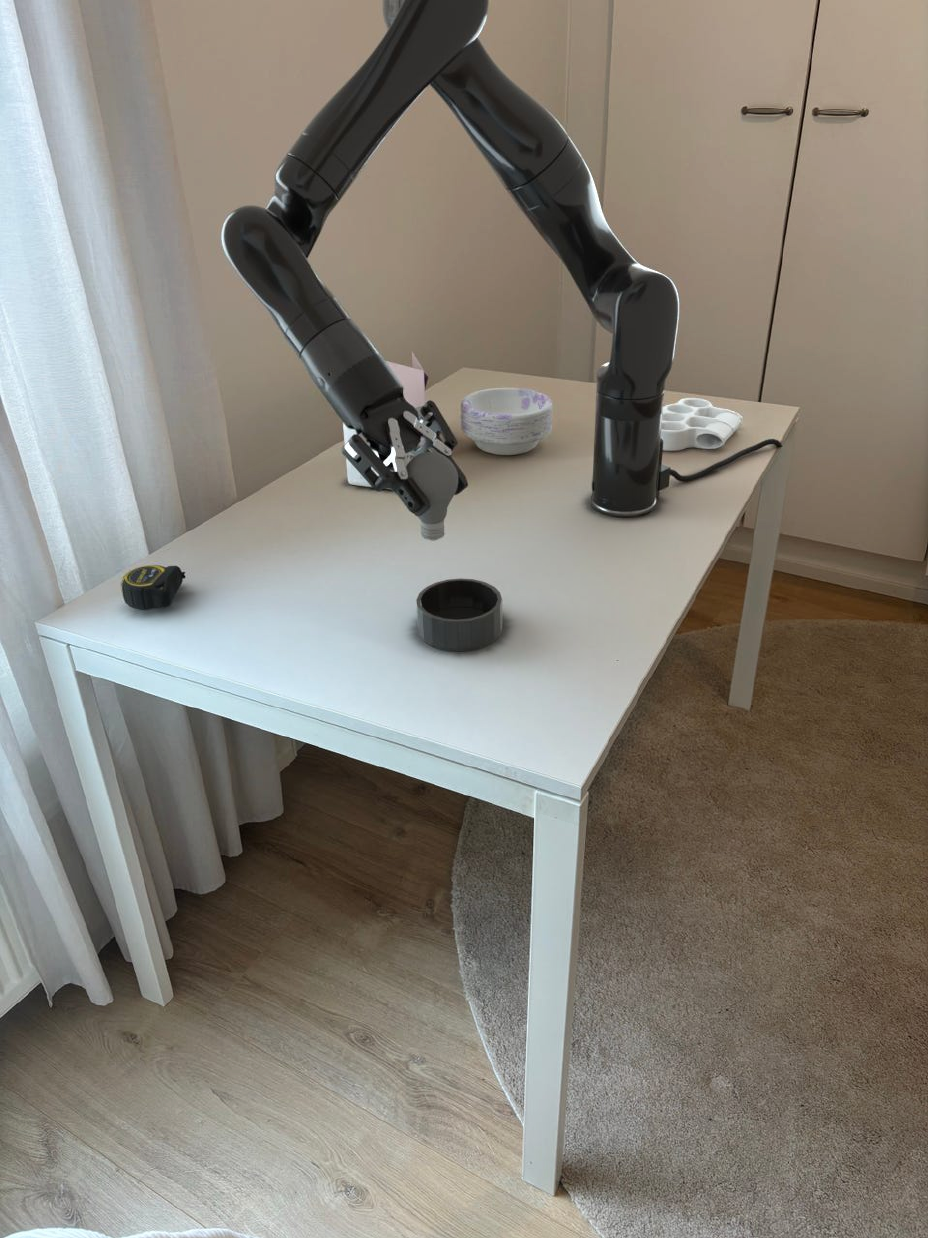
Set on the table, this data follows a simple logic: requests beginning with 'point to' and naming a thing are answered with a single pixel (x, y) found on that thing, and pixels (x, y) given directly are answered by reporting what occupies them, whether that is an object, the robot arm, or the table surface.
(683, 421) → the white multi-hole holder
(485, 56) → the robot arm
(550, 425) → the paper bowls
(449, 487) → the light bulb
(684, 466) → the table surface
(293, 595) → the table surface
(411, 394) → the greeting card
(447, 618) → the dark gray bowl
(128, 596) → the tape measure
